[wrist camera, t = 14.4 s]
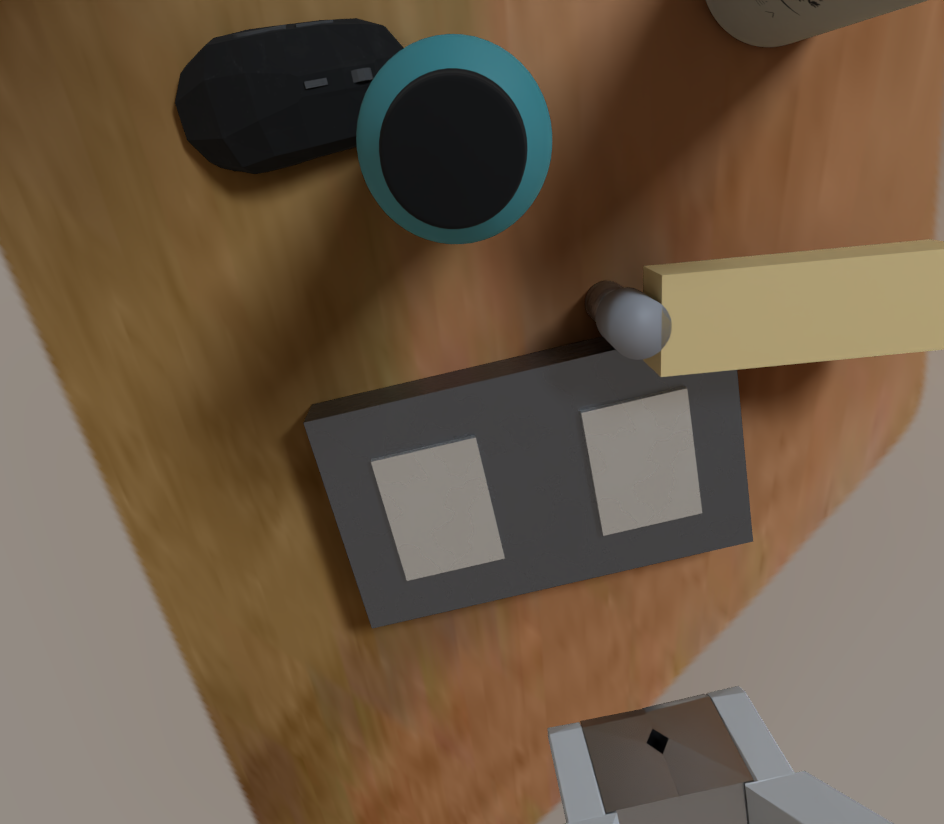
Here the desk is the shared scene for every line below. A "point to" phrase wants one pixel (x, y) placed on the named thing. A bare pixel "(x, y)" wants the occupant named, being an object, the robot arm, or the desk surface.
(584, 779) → the robot arm
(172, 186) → the desk surface
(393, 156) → the beverage bottle
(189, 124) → the gaming mouse
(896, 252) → the beige block
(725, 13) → the travel mug
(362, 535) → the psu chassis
